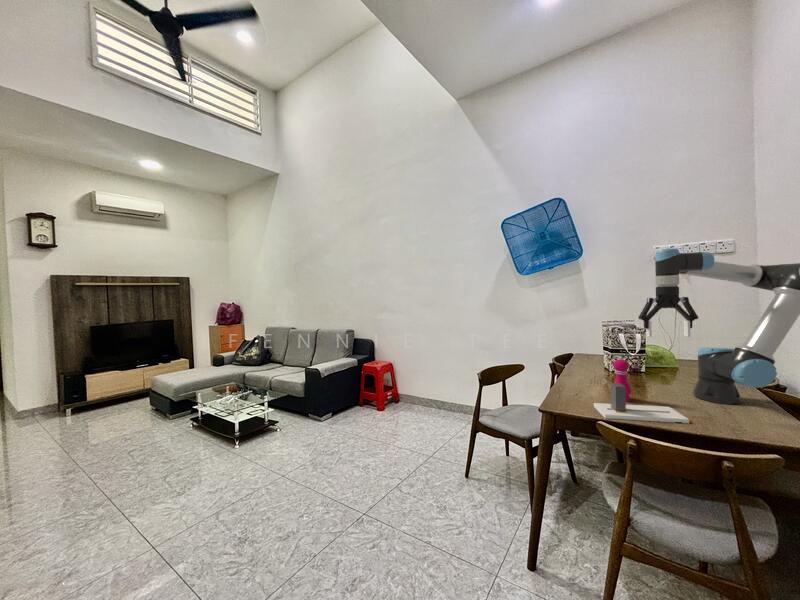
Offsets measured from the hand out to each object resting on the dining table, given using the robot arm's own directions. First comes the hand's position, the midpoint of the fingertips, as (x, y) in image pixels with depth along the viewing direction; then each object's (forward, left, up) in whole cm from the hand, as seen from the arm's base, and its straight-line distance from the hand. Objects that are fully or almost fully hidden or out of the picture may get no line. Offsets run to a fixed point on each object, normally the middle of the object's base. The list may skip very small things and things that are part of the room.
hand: (667, 336), depth 132 cm
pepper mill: (+14, -9, -31) cm, 35 cm away
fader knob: (+22, +9, -29) cm, 37 cm away
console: (+15, +9, -31) cm, 35 cm away
